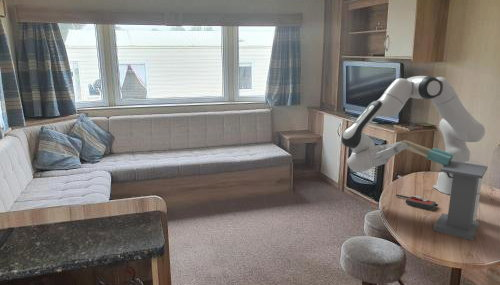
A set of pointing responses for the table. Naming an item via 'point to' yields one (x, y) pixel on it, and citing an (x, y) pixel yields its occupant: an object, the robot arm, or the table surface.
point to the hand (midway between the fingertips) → (409, 144)
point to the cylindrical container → (477, 190)
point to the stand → (461, 200)
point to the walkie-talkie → (419, 202)
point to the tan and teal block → (430, 153)
